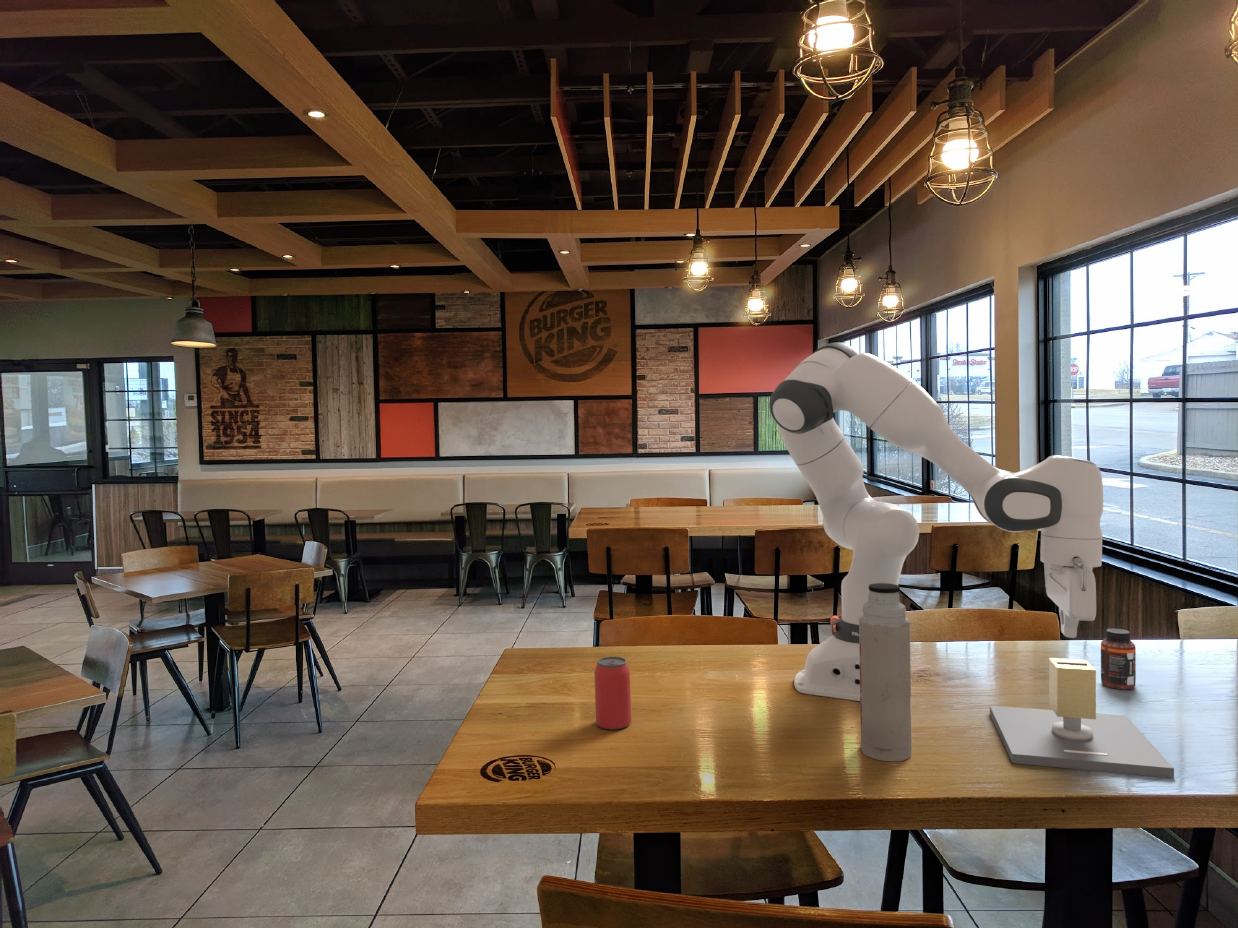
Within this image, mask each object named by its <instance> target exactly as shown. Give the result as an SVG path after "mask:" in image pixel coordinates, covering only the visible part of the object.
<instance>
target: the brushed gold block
mask: <svg viewBox="0 0 1238 928" xmlns="http://www.w3.org/2000/svg"><path fill="white" fill-rule="evenodd" d="M1048 658H1049V660H1048V661H1049V662H1048V663H1049V664H1048V666H1049V670H1048V671H1049V672H1048V676H1049V677H1048V679H1049V680H1048V681H1049V685H1048V686H1049V687H1048V688H1049V691H1048V692H1049V694H1048V695H1049V701H1048V702H1049V703H1048V704H1049V706H1050V708H1051V710H1053V711H1054V712H1055V714H1056V715H1057V717H1069V718H1083V719H1096V713H1097V675H1096V674H1097V670H1096V669H1095V668H1094V666H1092V664H1091V663H1089V661H1088V660H1087V659H1074V658H1057V657H1048Z"/></svg>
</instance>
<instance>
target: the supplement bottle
mask: <svg viewBox="0 0 1238 928" xmlns="http://www.w3.org/2000/svg"><path fill="white" fill-rule="evenodd" d="M1105 632H1106V633H1105V636H1106V638H1104V639H1103V640H1101V642H1100V681H1101V683H1102V685H1103V686H1106V687H1108V688H1111V689H1115V690H1132V689H1133V690H1134V688H1135V687H1136V682H1137V681H1136V680H1137V679H1136V675H1137V674H1136V673H1137V672H1136V671H1137V670H1136V667H1137V666H1136V661H1137V660H1136V657H1137V656H1136V655H1137V654H1136V653H1137V652H1136V644H1135V642H1132V641H1131V639H1130V638H1131V635H1130V634H1131V633H1130V631H1129V630H1126V629H1122V628H1107V629H1106V631H1105Z"/></svg>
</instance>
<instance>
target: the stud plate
mask: <svg viewBox="0 0 1238 928" xmlns="http://www.w3.org/2000/svg"><path fill="white" fill-rule="evenodd" d="M989 714H990V717H991V719H992V721H993V723H994V726H995V728H996V730H997V732H998V734H999V736H1000V739H1001V741H1002V744H1003V743H1004V744H1003V746H1004V747H1005V750H1006V753H1007V754H1008V757H1009V759H1010V761H1011V764H1017V765H1018V764H1019V765H1028V766H1029V765H1031V766H1038V767H1040V766H1041V767H1050V768H1059V769H1060V768H1061V769H1063V768H1064V769H1073V770H1085V771H1095V772H1104V773H1106V772H1107V773H1114V772H1115V773H1116V774H1126V775H1136V776H1137V775H1138V776H1148V777H1160V778H1170V779H1175V768H1174V766H1173V765H1172V764H1171V763H1170V762H1169V761H1168V760H1167V758H1165V756H1164V755H1163V754H1162V753H1161V752H1160V751H1159V750H1158V749H1157V748H1156V747H1155V746H1154V744H1152V743H1151V741H1150V739H1148V738H1147V737H1146V736H1145V735H1144V734H1143V733H1142V731H1140V729H1139V728H1138V727H1137V726H1136V725H1135V724H1134V723H1133V722H1132V721H1131V719H1130V718H1129V717H1128V716H1127V715H1123V714H1111V713H1110V714H1108V713H1098V712H1096V719H1083V718H1069V717H1057V715H1056V714H1055V712H1054V711H1053V709H1042V708H1030V707H1028V708H1025V707H1014V706H1000V705H989Z"/></svg>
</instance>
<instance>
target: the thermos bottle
mask: <svg viewBox="0 0 1238 928" xmlns="http://www.w3.org/2000/svg"><path fill="white" fill-rule="evenodd" d="M900 592H901V587H900V585H899V584H898V585H895V584H889V583H875V584H870V585H869V601H868V602H866V603H864V605H863V609H862V611H863V615H862V616H860V617H859V653H860V701H859V702H860V703H859V706H860V708H859V709H860V713H859V715H860V716H859V717H860V750H861V752H862V753H863V754H864V755H865V756H866V757H869V758H871V759H874V760H877V761H883V762H891V763H892V762H893V763H894V762H901V761H902V762H903V761H906V760H908V759H910V758H911V756H912V748H913V747H912V712H911V711H912V709H911V696H912V688H911V687H912V683H911V682H912V680H911V679H912V678H911V675H912V673H911V671H912V670H911V667H912V666H911V621H910V619H909V618H908V617H906V615H907V609H906V606H905V605H904V604H903V603H901V601H900V600H901V599H900V594H899V593H900Z"/></svg>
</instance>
